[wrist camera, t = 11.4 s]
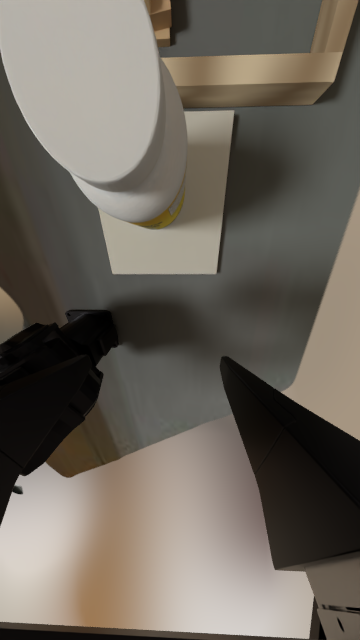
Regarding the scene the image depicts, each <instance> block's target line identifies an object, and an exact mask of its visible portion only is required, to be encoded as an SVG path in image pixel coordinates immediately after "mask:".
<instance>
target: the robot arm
mask: <svg viewBox="0 0 360 640" xmlns="http://www.w3.org/2000/svg"><path fill="white" fill-rule="evenodd" d="M69 313H70V314H71V315H70V314H69ZM106 313H107V314H108V315H106ZM65 314H66V317H67V319H68V323H67V324H65V325H64V326H63V327H61V328H60V329H59V328H58V325H57V324H56V323H52V324H50V325H48V324H47V325H42V324H39V323H35V324H33V325H31V326H29V327H28V328H26V329H24V330H22V331H21V332H19V333H17V334H15V335H14V336H12V337H11V338H9V339H8V340H6V341H5V342H3V343H2V344H0V525H1V523H2V520H3V517H4V514H5V511H6V508H7V505H8V502H9V499H10V496H11V493H12V490H13V487H14V485H15V482H16V480H17V478H18V476H19V475H22V476H26V475H28V474H30V473H31V472H33V471H34V470H35V469H37V468H38V467H39V466H41V465H42V464H43V463H44V462H45V461H46V460H47V459H48V458H49V456H50V455H51V454H52V453H53V451H54V450H55V449H56V448H57V447H58V445H59V444H60V443H61V442H62V441H63V440H64V438H65V437H66V436H67V435H68V434H69V433H70V432H71V431H72V430H73V429H75V428H76V427H77V426H78V425H79V424H81V423H82V422H83V421H84V420H85V416H86V415H87V414H88V413H89V412H90V411H91V410H92V408H93V407H94V405H95V403H96V401H97V399H98V396H99V395H98V394H99V391H100V387H101V383H102V379H103V375H104V374H103V373H102V372H101V371H99V370H98V369H97V368H96V367H95V366H96V365H97V364H98V362H99V361H100V360H101V358H102V357H103V356H106V355H107V353H108V352H109V351H110V349H111V348H116V347H117V346H118V340H117V339H118V336H117V332H116V329H115V325H114V324H113V320H112V316H111V313H110V312H109V311H90V310H69V311H67V312H66V313H65ZM115 344H116V345H115ZM220 371H221V376H222V381H223V385H224V389H225V392H226V395H227V398H228V401H229V404H230V407H231V409H232V412H233V415H234V418H235V421H236V424H237V426H238V429H239V432H240V435H241V438H242V441H243V444H244V446H245V449H246V452H247V455H248V458H249V460H250V464H251V466H252V469H253V472H254V474H255V478H256V481H257V484H258V487H259V492H260V496H261V502H262V507H263V512H264V517H265V523H266V529H267V534H268V540H269V544H270V550H271V556H272V561H273V565H274V568H275V570H284V571H305V572H306V574H307V577H308V580H309V582H310V585H311V588H312V590H313V593H314V602H313V611H312V620H311V628H310V638H309V639H297V638H280V637H279V638H278V637H262V636H243V635H226V634H208V633H190V632H172V631H171V632H170V631H154V630H136V629H118V628H100V627H81V626H64V625H45V624H26V623H9V622H0V640H360V441H359V440H358V439H356V438H354V437H353V436H351V435H349V434H348V433H346V432H344V431H343V430H341V429H339V428H338V427H336V426H334V425H333V424H331V423H329V422H328V421H325V420H324V419H323V418H321V417H319V416H318V415H316V414H314V413H313V412H311V411H309V410H307V409H306V408H304V407H303V406H301V405H299V404H298V403H296V402H294V401H293V400H291V399H290V398H288V397H287V396H285V395H284V394H282V393H281V392H279V391H278V390H276V389H274V388H273V387H272V386H270V385H269V384H267V383H266V382H264V381H263V380H261V379H260V378H258V377H257V376H256V375H254V374H253V373H251V372H250V371H248V370H247V369H245V368H244V367H242V366H241V365H239V364H238V363H237V362H235V361H234V360H232V359H231V358H229V357H227V356H222V357H221V362H220Z"/></svg>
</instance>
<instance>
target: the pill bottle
mask: <svg viewBox="0 0 360 640" xmlns="http://www.w3.org/2000/svg"><path fill="white" fill-rule="evenodd" d="M0 50H1V56H2V60H3V64H4V68H5V71H6V74H7V77H8V80H9V83H10V86H11V89H12V92H13V94H14V97H15V99H16V102H17V104H18V106H19V108H20V110H21V112H22V114H23V116H24V118H25V120H26V122H27V123H28V125H29V127H30V128H31V130H32V131H33V133H34V135H35V136H36V137H37V139H38V140H39V142H40V143H41V144H42V145H43V147H44V148H45V149H46V150H47V152H48V153H49V154H50V155H51V156H52V157H53V158H54V159H55V160H56V161H57V162H58V163H59V164H60V165H62V166H63V167H64V168H65V169H66V170H68V171H69V172H70V173H71V175H72V177H73V179H74V180H75V182H76V183H77V185H78V186H79V188H80V189H81V190H82V192H83V193H84V194H85V195H86V196H87V198H88V199H89V200H90V201H91V202H92V203H93V204H95V205H96V206H97V207H98V208H99V209H101V210H102V211H103V212H105V213H107V214H108V215H110V216H112V217H114V218H117V219H119V220H122V221H125V222H128V223H131V224H134V225H137V226H140V227H143V228H146V229H151V230H157V229H162V228H165V227H166V226H168V225H170V224H171V223H172V222H173V221H174V220H175V219H176V218H177V216H178V214H179V213H180V211H181V208H182V206H183V202H184V197H185V184H186V170H187V152H188V141H187V127H186V120H185V114H184V110H183V105H182V102H181V99H180V96H179V93H178V90H177V87H176V85H175V83H174V80H173V78H172V76H171V74H170V72H169V70H168V68H167V67H166V65H165V63H164V62H163V60H162V59H161V57H160V56H159V51H158V45H157V40H156V36H155V33H154V29H153V26H152V22H151V18H150V15H149V13H148V10H147V7H146V4H145V2H144V0H0Z"/></svg>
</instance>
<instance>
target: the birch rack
mask: <svg viewBox="0 0 360 640" xmlns="http://www.w3.org/2000/svg"><path fill="white" fill-rule="evenodd" d="M357 3H358V0H322V5H321V9H320V13H319V17H318V21H317V25H316V30H315V34H314V38H313V42H312V46H311V51H310V53H297V54H266V55H236V56H205V57H175V58H161V59H162V60H163V62H164V63H165V65H166V67H167V68H168V70H169V72H170V74H171V76H172V78H173V80H174V83H175V85H176V87H177V90H178V93H179V96H180V99H181V102H182V105H183V108H205V107H245V106H284V105H312V104H313V103H314V102H315V101H316V100H317V99H318V98H319V97H320V96H321V95H322V94H323V93H324V92H325V91H326V90H327V89H328V88H329V86H330V85H331V84H332V83H333V82H334V80H335V77H336V73H337V70H338V67H339V63H340V60H341V57H342V53H343V50H344V47H345V43H346V40H347V37H348V33H349V30H350V27H351V23H352V20H353V17H354V13H355V10H356V7H357Z"/></svg>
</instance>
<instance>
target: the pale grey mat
mask: <svg viewBox="0 0 360 640" xmlns="http://www.w3.org/2000/svg"><path fill="white" fill-rule="evenodd" d="M184 114H185V120H186V127H187V141H188V152H187V170H186V184H185V197H184V202H183V206H182V208H181V211H180V213H179V214H178V216H177V218H176V219H175V220H174V221H173V222H172V223H171V224H170V225H168V226H166V227H165V228H162V229H157V230H151V229H146V228H143V227H140V226H137V225H134V224H131V223H128V222H125V221H122V220H119V219H117V218H114V217H112V216H110V215H108V214H107V213H105V212H103V211H102V210H101V209H99V208H98V209H99V213H100V218H101V223H102V227H103V232H104V236H105V241H106V246H107V250H108V255H109V259H110V264H111V269H112V273H113V274H216V273H217V264H218V254H219V245H220V236H221V227H222V218H223V209H224V200H225V191H226V182H227V173H228V164H229V154H230V145H231V136H232V127H233V118H234V111H193V112H184Z"/></svg>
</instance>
